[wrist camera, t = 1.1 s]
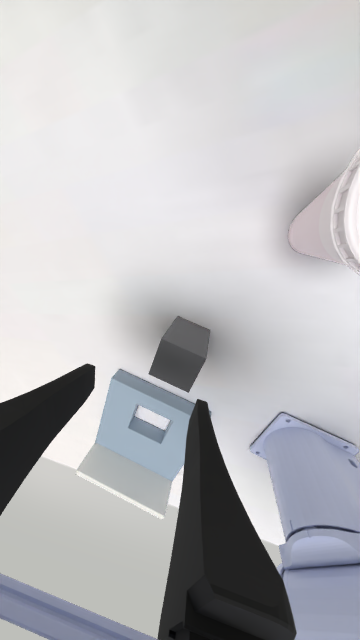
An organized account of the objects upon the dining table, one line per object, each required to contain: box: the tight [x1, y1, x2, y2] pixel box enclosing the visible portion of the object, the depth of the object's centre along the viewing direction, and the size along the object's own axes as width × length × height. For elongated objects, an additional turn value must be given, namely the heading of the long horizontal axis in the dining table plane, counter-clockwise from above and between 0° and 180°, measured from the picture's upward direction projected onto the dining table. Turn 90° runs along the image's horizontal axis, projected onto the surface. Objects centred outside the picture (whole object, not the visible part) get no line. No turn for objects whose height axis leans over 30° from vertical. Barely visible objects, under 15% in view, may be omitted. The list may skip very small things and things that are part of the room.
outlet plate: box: [76, 369, 211, 519], centre depth 24 cm, size 14×16×6 cm
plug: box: [149, 316, 210, 393], centre depth 17 cm, size 4×4×6 cm
